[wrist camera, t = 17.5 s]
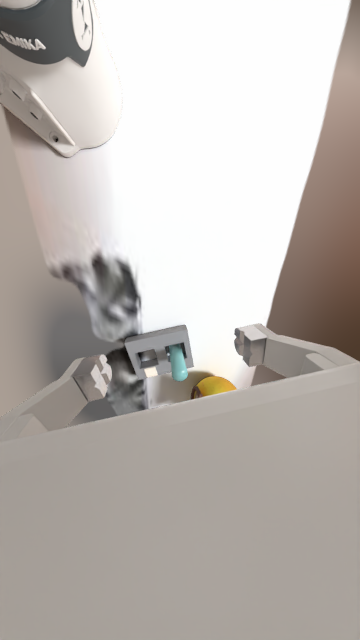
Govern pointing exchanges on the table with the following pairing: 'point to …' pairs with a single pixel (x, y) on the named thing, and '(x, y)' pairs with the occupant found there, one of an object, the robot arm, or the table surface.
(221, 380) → the emoji
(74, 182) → the table surface
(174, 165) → the table surface
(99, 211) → the table surface
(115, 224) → the table surface
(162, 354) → the socket board
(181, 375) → the teal rounded cylinder
